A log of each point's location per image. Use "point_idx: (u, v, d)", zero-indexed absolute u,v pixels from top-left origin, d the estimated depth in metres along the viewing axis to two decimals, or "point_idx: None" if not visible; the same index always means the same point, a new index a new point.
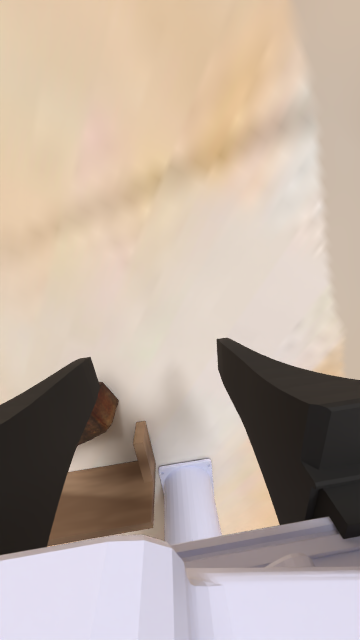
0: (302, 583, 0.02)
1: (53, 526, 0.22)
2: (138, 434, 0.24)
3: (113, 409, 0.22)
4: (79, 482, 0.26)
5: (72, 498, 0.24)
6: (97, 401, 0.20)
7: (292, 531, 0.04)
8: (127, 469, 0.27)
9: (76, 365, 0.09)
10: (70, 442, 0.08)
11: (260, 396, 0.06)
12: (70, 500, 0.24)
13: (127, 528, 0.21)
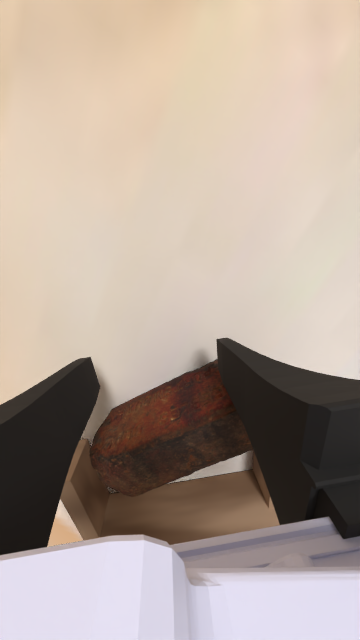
0: (302, 583, 0.02)
1: None
2: None
3: None
4: (160, 506, 0.17)
5: (157, 534, 0.15)
6: None
7: (292, 531, 0.04)
8: (229, 485, 0.18)
9: (76, 365, 0.09)
10: (70, 442, 0.08)
11: (260, 396, 0.06)
12: (156, 538, 0.15)
13: None
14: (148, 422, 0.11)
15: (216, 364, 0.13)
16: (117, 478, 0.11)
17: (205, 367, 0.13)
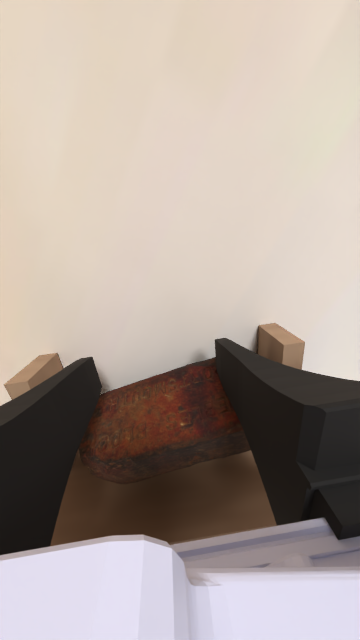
0: (302, 583, 0.02)
1: (115, 522, 0.10)
2: (281, 335, 0.12)
3: None
4: None
5: None
6: None
7: (292, 531, 0.04)
8: None
9: (78, 365, 0.09)
10: (72, 442, 0.08)
11: (257, 396, 0.06)
12: None
13: None
14: (152, 422, 0.10)
15: None
16: (113, 476, 0.10)
17: (215, 361, 0.12)
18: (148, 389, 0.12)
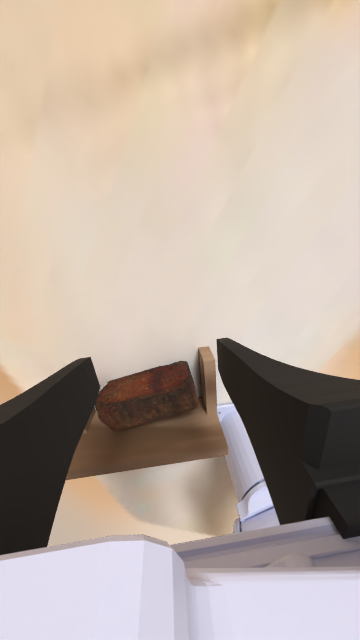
0: (302, 583, 0.02)
1: (112, 453, 0.19)
2: (206, 355, 0.21)
3: None
4: None
5: (127, 429, 0.22)
6: (190, 378, 0.21)
7: (292, 531, 0.04)
8: None
9: (76, 365, 0.09)
10: (70, 442, 0.08)
11: (260, 396, 0.06)
12: (126, 431, 0.21)
13: (200, 454, 0.19)
14: (133, 389, 0.20)
15: (178, 364, 0.22)
16: (109, 417, 0.20)
17: (171, 364, 0.22)
18: (134, 377, 0.22)
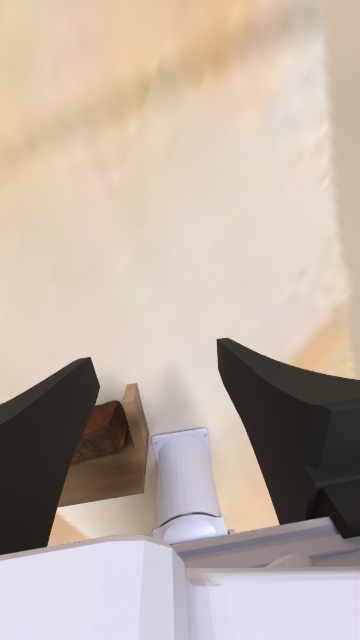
0: (302, 583, 0.02)
1: None
2: (128, 394, 0.22)
3: (125, 429, 0.23)
4: None
5: None
6: (115, 421, 0.22)
7: (292, 531, 0.04)
8: None
9: (76, 365, 0.09)
10: (70, 442, 0.08)
11: (260, 396, 0.06)
12: None
13: (115, 493, 0.20)
14: None
15: (108, 404, 0.23)
16: None
17: (103, 405, 0.24)
18: None
